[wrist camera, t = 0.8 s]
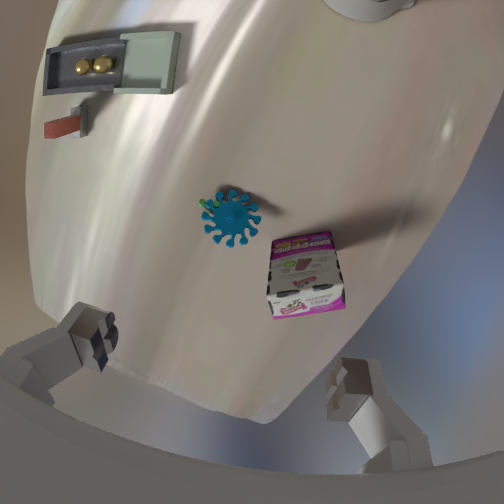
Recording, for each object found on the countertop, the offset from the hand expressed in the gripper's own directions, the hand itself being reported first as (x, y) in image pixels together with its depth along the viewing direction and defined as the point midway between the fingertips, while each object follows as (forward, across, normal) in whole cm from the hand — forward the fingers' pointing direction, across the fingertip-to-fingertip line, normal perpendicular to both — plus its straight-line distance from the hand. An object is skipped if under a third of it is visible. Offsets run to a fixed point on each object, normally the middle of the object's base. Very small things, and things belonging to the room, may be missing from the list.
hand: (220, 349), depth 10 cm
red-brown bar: (+43, +37, -1) cm, 57 cm away
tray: (+43, +24, -12) cm, 51 cm away
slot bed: (+43, +37, -12) cm, 58 cm away
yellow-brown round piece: (+42, +36, -12) cm, 56 cm away
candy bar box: (+43, -8, +18) cm, 48 cm away
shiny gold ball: (+42, +31, -12) cm, 54 cm away
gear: (+43, +6, +13) cm, 46 cm away
